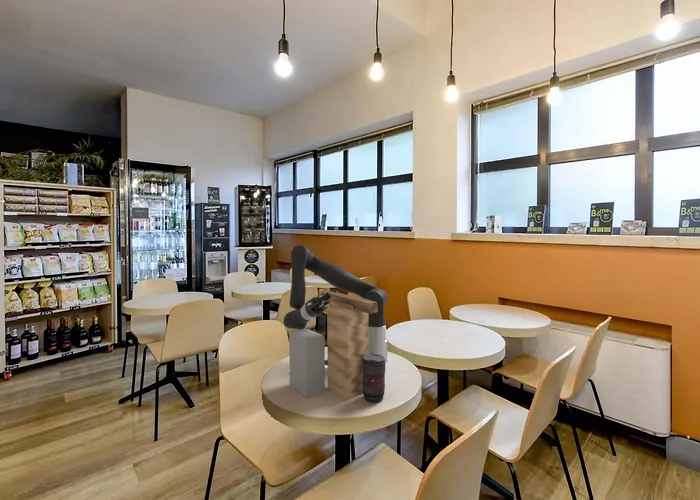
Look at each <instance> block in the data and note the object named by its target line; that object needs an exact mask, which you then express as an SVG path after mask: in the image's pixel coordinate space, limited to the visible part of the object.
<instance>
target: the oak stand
mask: <svg viewBox="0 0 700 500" xmlns="http://www.w3.org/2000/svg"><path fill="white" fill-rule="evenodd" d="M326 310H327V311H326V312H327V313H326V316H327V317H326V325H327V327H326V333H327V334H326V336H327V337H326V339H327V340H326V341H327V343H326V345H327V351H326V352H327V359H328V369H327V389H328V390H330V391H332V392H334V393H335V394H336V395H338V396H340V397H342V398H344V399H345V400H347V401H349V400H352V399H354V398H356V397H359V396H362V395H364V394H363V381H362V377H363V357H364V356H365V355H367V354H369V313H365V312H362V311H358V310H355V309H353V305H350V304H346V303H342V302H338V301H334V300H331V304H329V305H327V307H326Z"/></svg>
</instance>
